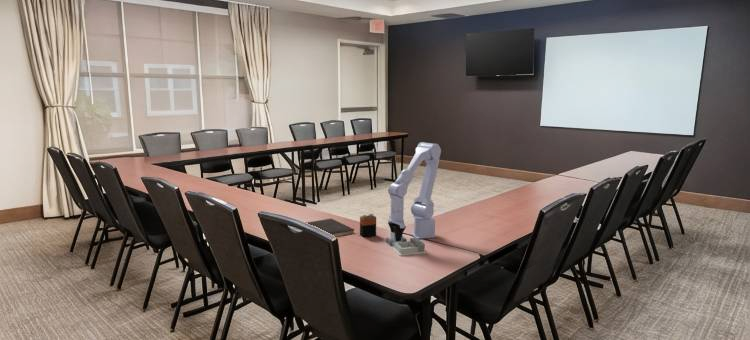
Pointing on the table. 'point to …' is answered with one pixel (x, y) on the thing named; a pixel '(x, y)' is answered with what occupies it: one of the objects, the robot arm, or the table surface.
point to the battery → (368, 225)
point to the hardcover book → (332, 227)
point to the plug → (394, 238)
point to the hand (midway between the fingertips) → (396, 239)
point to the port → (409, 247)
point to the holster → (391, 240)
